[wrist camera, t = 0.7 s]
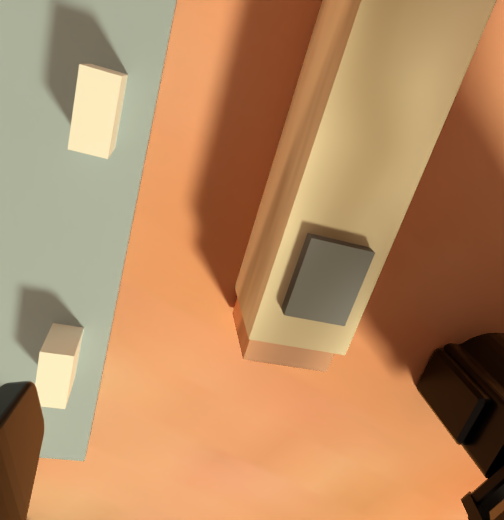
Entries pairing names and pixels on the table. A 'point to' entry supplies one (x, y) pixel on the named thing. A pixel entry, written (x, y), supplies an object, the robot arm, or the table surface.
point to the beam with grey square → (348, 170)
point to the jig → (70, 190)
